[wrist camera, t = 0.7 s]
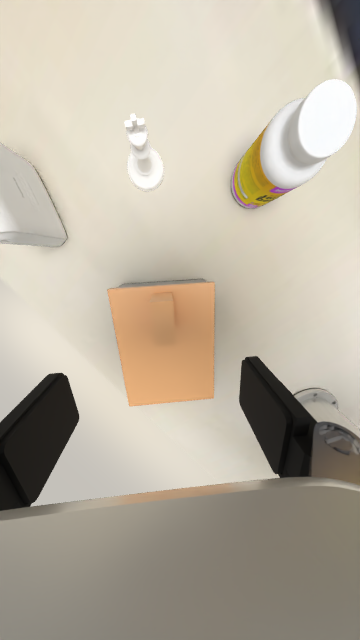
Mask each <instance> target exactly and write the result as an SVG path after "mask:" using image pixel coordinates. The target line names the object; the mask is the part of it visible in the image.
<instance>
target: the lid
mask: <svg viewBox="0 0 360 640" xmlns="http://www.w3.org/2000/svg"><path fill="white" fill-rule="evenodd" d="M107 291H108V296H109V302H110V307H111V312H112V318H113V323H114V328H115V333H116V339H117V344H118V349H119V354H120V360H121V365H122V370H123V376H124V381H125V386H126V391H127V397H128V402H129V406H139V405H149V404H160V403H170V402H180V401H191V400H201V399H211V398H214V312H215V283H214V282H200V283H185V284H170V285H155V286H140V287H125V288H110V289H108V290H107Z"/></svg>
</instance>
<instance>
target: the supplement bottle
mask: <svg viewBox="0 0 360 640" xmlns="http://www.w3.org/2000/svg"><path fill="white" fill-rule="evenodd" d="M356 114H357V104H356V98H355V95H354V93H353V91H352V89H351V87H350V86H349V85H348V84H347V83H345V82H344V81H342V80H338V79H330V80H327V81H324V82H322V83H321V84H319V85H318V86H316V87H315V88H314V89H313V90H312V91H311V92H310V93H309V94H308V95H307V96H306V98H300V99H297V100H294V101H292V102H290V103H288V104H287V105H285V106H284V107H283V108H282V109H280V110H279V111H278V113H277V114H276V115H275V116H274V117H273V118H272V120H271V121H270V122H269V124H268V125H267V126H266V128H265V129H264V130H263V131H262V133H261V134H260V135H259V137H258V138H257V139H256V140H255V142H254V143H253V144H252V146H251V147H250V148H249V149H248V151H247V152H246V153H245V154H244V156H243V157H242V158H241V160H240V161H239V162H238V164H237V166H236V167H235V169H234V172H233V175H232V181H231V187H232V192H233V195H234V197H235V199H236V201H237V202H238V203H239V204H240V205H242V206H243V207H246V208H251V209H252V208H258V207H261V206H263V205H265V204H267V203H269V202H270V201H272V200H274V199H276V198H278V197H280V196H282V195H284V194H285V193H287V192H289V191H291V190H293V189H295V188H297V187H299V186H301V185H302V184H304V183H306V182H307V181H309V180H310V179H311V178H313V177H314V176H315V175H316V174H317V173H318V171H319V170H320V169H321V167H322V166H323V164H324V163H325V161H326V159H327V158H328V157H330V156H331V155H333V154H334V153H336V152H337V151H338V150H339V149H340V148H341V147H342V146H343V145H344V144H345V142H346V141H347V140H348V138H349V136H350V134H351V132H352V130H353V127H354V124H355V120H356Z"/></svg>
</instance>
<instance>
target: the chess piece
mask: <svg viewBox="0 0 360 640" xmlns="http://www.w3.org/2000/svg"><path fill="white" fill-rule="evenodd" d="M130 116H131V120H127V121H125V126H126V134H127V138H128V140H129V142H130V143H131V144H130V148H131V153H130V155H129V157H128V161H127V170H128V175H129V178H130V180H131V182H132V183H133V184H134V185H135V186H136V187H137V188H138V189H140V190H142V191H153V190H155V189H156V188H158V187H159V186H160V184H161V182H162V180H163V177H164V165H163V162H162V159H161V157H160V155H159V154H158V152H157V151H156V150H155V149H153V148H152V147H150V143H149V140H148V139H147V138H148V131H147V128H146V126H145V123H144V118H139V119H136V114H130Z"/></svg>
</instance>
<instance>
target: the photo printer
mask: <svg viewBox="0 0 360 640" xmlns="http://www.w3.org/2000/svg"><path fill="white" fill-rule="evenodd" d="M65 239H67V236H66V233H65V230H64V227H63V225H62V223H61V220H60V218H59V216H58V214H57V212H56V209H55V207H54V205H53V203H52V201H51V199H50V197H49V195H48V193H47V191H46V189H45V187H44V185H43V183H42V181H41V179H40V177H39V175H38V173H37V172H36V170H35V169H34V167H33V166H32V165H31V164H30V163H29V162H28V161H27V160H25V159H24V158H22V157H21V156H19V155H18V154H16V153H15V152H14V151H12V150H11V149H9V148H8V147H6V146H5V145H3V144H2V143H0V243H2V244H17V245H32V246H48V247H58V246H60V245H62V244H63V243H64V242H65Z"/></svg>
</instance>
